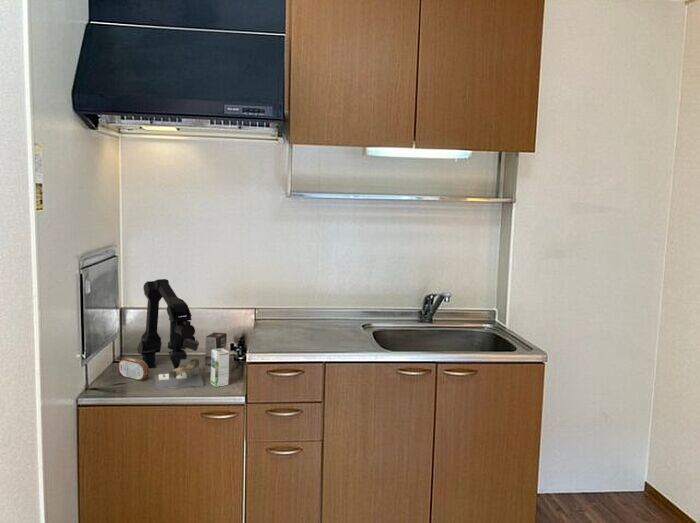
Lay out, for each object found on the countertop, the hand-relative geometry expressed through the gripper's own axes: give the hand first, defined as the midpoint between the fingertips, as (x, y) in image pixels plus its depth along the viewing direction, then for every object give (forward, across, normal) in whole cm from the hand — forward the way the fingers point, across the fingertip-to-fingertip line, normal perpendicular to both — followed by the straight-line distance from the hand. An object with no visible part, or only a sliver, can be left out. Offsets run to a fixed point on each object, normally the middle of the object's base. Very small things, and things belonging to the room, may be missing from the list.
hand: (176, 370), depth 228 cm
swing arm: (+1, +1, -3) cm, 3 cm away
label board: (+6, +3, -1) cm, 7 cm away
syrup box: (+6, -4, -17) cm, 18 cm away
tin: (+7, +12, +16) cm, 21 cm away
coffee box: (+7, +16, -18) cm, 25 cm away
